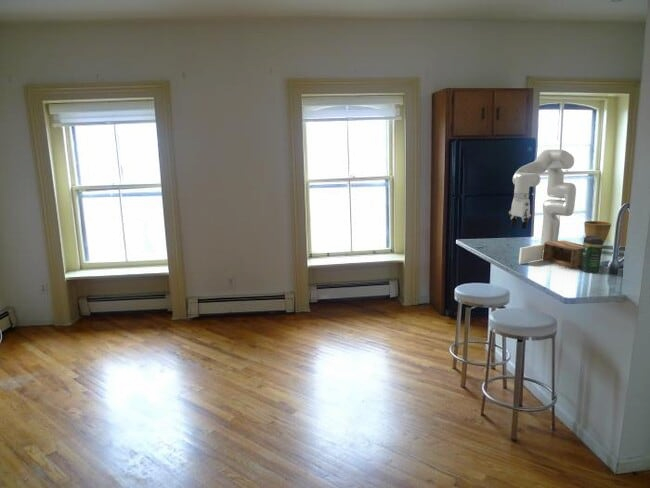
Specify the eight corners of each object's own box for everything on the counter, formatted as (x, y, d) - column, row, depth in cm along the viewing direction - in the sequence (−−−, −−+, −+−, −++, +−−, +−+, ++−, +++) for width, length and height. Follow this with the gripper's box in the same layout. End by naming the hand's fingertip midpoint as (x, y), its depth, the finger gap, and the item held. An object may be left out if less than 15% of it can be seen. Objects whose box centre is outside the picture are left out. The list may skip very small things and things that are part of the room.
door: (542, 259, 253) (544, 244, 251) (520, 263, 244) (521, 248, 242) (539, 258, 255) (540, 243, 253) (516, 262, 246) (517, 247, 244)
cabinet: (561, 257, 257) (563, 240, 255) (591, 266, 239) (593, 247, 237) (542, 259, 253) (544, 242, 251) (571, 268, 235) (573, 249, 232)
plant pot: (598, 244, 293) (601, 220, 289) (613, 249, 278) (616, 224, 275) (576, 244, 292) (579, 220, 289) (590, 249, 278) (593, 224, 275)
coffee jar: (601, 273, 225) (606, 238, 221) (584, 272, 227) (588, 237, 223) (594, 268, 235) (598, 234, 231) (578, 267, 236) (582, 234, 232)
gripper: (538, 197, 236) (535, 229, 240) (515, 194, 252) (512, 224, 256) (527, 198, 234) (524, 230, 237) (504, 195, 250) (502, 225, 254)
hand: (518, 227), depth 247 cm, fingers open, 7 cm apart
